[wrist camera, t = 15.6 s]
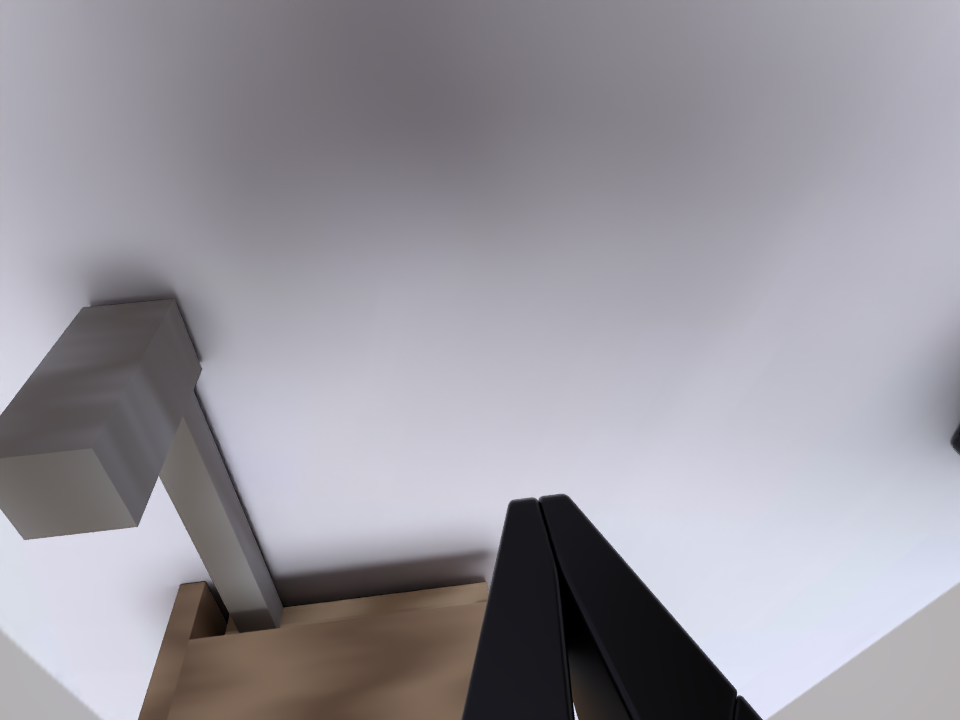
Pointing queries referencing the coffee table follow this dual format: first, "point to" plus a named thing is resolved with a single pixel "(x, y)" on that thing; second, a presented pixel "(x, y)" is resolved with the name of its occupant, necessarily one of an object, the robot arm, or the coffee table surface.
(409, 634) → the wooden stand
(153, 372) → the shallow wooden box
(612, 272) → the coffee table surface
